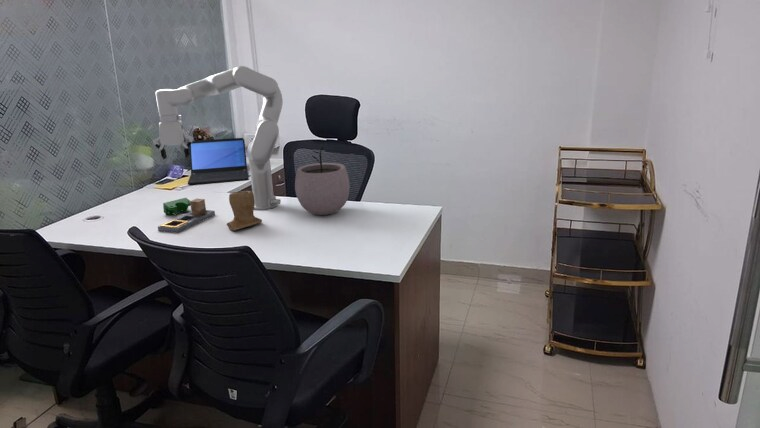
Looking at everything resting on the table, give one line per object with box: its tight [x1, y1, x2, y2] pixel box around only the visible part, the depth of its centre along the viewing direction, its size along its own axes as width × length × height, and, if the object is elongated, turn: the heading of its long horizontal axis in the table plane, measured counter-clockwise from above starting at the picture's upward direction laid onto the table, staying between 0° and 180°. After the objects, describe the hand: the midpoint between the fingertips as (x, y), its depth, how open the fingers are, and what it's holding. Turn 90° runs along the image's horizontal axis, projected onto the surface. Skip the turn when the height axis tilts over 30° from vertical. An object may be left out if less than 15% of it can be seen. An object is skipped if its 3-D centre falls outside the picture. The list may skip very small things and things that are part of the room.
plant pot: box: [294, 146, 351, 216], centre depth 237 cm, size 24×24×30 cm
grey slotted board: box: [157, 209, 216, 234], centre depth 235 cm, size 10×25×2 cm, turn 160°
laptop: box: [187, 137, 249, 186], centre depth 318 cm, size 33×38×19 cm
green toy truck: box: [162, 197, 191, 216], centre depth 249 cm, size 12×6×9 cm, turn 133°
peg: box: [190, 198, 207, 215], centre depth 241 cm, size 4×4×8 cm
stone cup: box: [226, 190, 263, 232], centre depth 226 cm, size 15×12×15 cm
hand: (176, 157), depth 237 cm, fingers open, 9 cm apart
